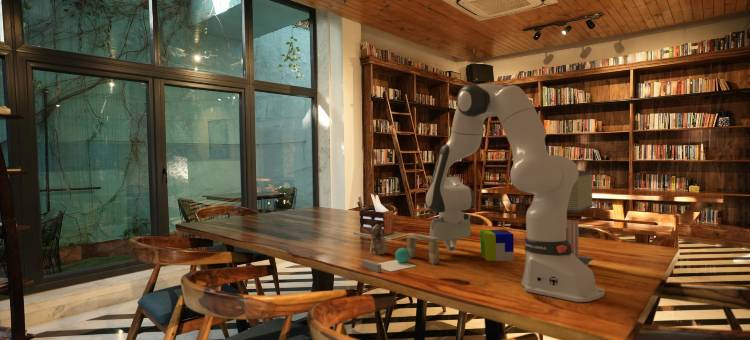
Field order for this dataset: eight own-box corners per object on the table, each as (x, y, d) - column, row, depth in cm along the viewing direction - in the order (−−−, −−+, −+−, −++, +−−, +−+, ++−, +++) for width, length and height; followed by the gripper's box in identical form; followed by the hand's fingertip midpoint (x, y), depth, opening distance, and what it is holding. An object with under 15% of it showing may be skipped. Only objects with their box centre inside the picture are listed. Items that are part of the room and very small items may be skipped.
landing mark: (416, 266, 151) (416, 265, 151) (390, 271, 144) (390, 271, 144) (396, 260, 161) (396, 259, 161) (370, 265, 154) (370, 264, 154)
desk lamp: (579, 275, 135) (579, 174, 135) (535, 269, 144) (534, 174, 144) (593, 264, 149) (593, 172, 149) (552, 258, 158) (551, 172, 158)
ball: (401, 248, 153) (398, 263, 153) (414, 250, 156) (411, 265, 155) (394, 245, 158) (391, 260, 158) (406, 247, 161) (403, 262, 160)
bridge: (412, 255, 168) (412, 232, 168) (438, 263, 155) (438, 238, 155) (407, 257, 166) (406, 233, 166) (432, 264, 154) (432, 239, 154)
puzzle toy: (513, 260, 158) (513, 234, 157) (487, 260, 158) (486, 234, 158) (506, 254, 168) (505, 229, 167) (480, 255, 168) (480, 230, 168)
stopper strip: (381, 271, 145) (381, 264, 145) (377, 272, 144) (377, 265, 144) (365, 266, 153) (365, 259, 153) (362, 266, 152) (361, 259, 152)
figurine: (366, 252, 176) (366, 223, 176) (382, 250, 179) (381, 222, 179) (374, 255, 170) (373, 226, 170) (389, 253, 173) (389, 224, 173)
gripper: (436, 219, 160) (437, 255, 161) (473, 214, 172) (473, 248, 172) (425, 217, 166) (425, 252, 166) (461, 213, 177) (462, 245, 178)
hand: (450, 250), depth 169 cm, fingers closed
